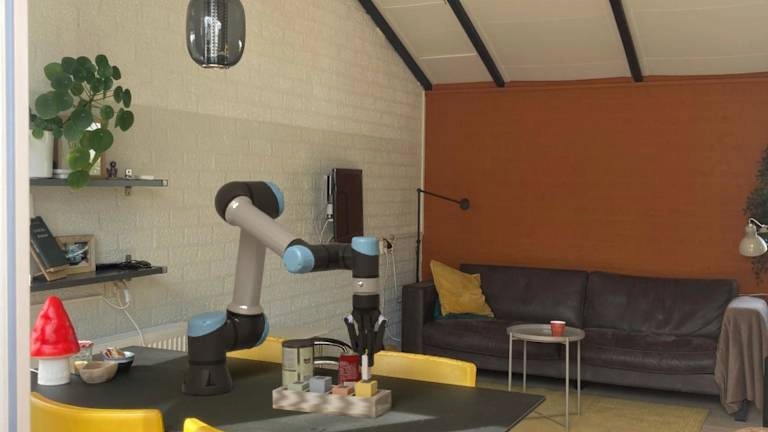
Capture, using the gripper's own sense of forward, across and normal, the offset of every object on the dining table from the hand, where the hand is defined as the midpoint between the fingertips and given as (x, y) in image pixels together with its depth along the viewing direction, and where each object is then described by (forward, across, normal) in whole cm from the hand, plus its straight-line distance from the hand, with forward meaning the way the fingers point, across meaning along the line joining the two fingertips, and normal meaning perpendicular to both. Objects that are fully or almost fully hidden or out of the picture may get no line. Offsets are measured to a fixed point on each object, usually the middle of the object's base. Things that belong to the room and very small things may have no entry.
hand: (366, 378), depth 233 cm
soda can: (+9, -14, +19) cm, 25 cm away
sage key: (+8, -21, 0) cm, 23 cm away
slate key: (+6, -14, 0) cm, 15 cm away
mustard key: (+6, 0, 0) cm, 6 cm away
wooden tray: (+9, -11, 0) cm, 14 cm away
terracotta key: (+8, -7, 0) cm, 11 cm away
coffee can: (+9, -32, +20) cm, 39 cm away
